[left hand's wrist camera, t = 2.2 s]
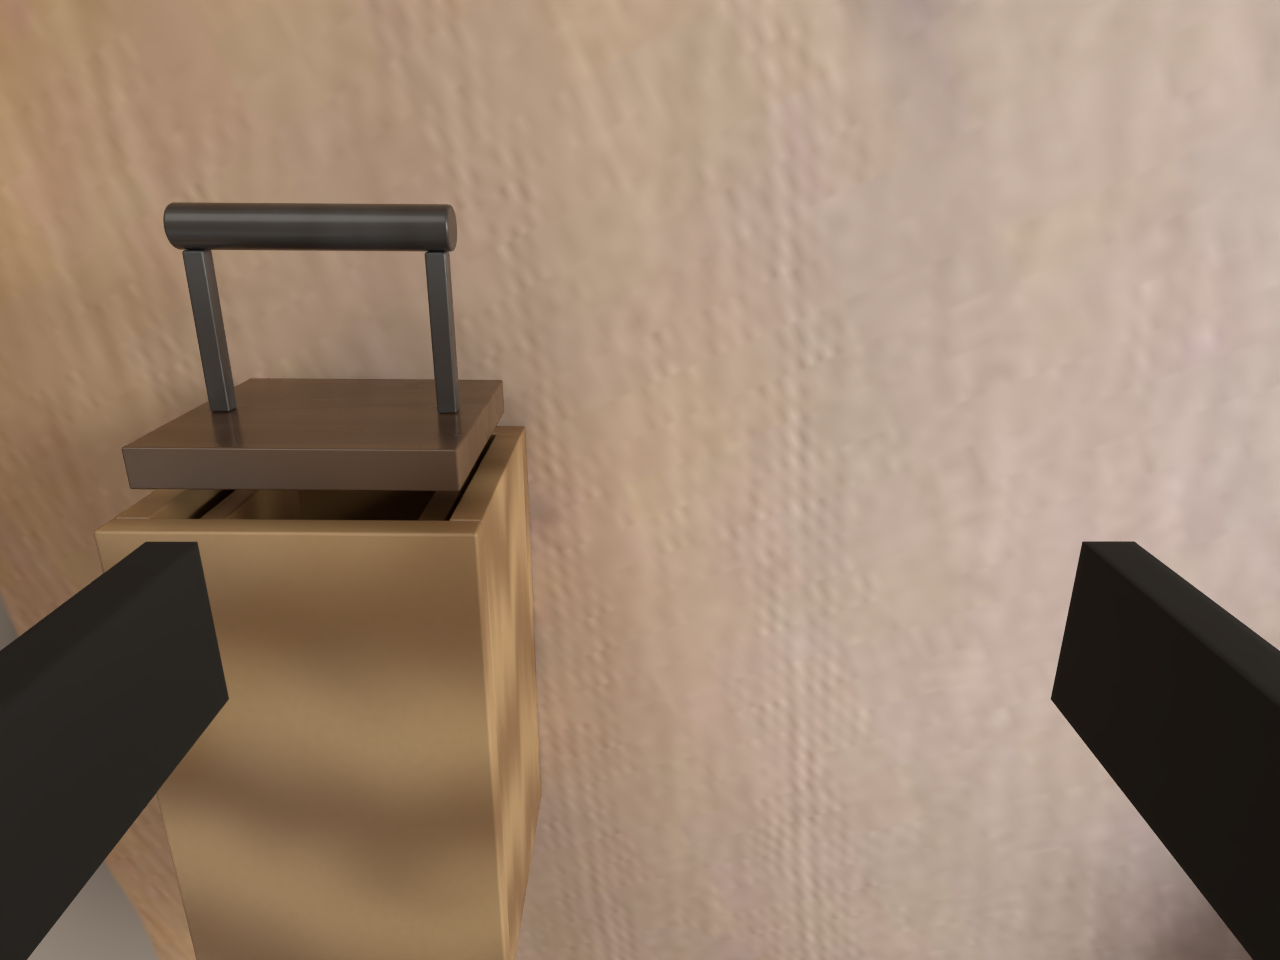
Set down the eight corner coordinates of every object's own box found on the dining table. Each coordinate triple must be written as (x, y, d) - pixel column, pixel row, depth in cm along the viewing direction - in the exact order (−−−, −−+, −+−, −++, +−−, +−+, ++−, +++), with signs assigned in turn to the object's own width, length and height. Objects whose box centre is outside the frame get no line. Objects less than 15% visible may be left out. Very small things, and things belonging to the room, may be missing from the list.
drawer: (221, 197, 27) (67, 208, 20) (493, 199, 27) (439, 211, 20) (308, 748, 35) (220, 902, 28) (521, 750, 35) (489, 904, 28)
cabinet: (253, 424, 31) (91, 531, 22) (525, 426, 31) (477, 534, 22) (313, 795, 37) (205, 1001, 28) (541, 796, 37) (508, 1003, 28)
